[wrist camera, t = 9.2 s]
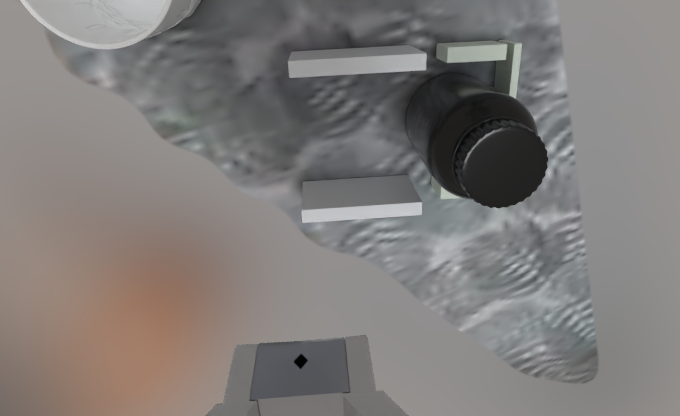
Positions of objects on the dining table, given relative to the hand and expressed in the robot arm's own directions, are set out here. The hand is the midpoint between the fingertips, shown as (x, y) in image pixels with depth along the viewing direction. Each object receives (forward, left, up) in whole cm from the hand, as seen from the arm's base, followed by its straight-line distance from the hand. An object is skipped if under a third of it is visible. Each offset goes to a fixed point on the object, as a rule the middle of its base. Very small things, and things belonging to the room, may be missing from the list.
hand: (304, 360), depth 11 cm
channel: (+1, +3, -26) cm, 27 cm away
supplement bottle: (+1, +11, -27) cm, 29 cm away
